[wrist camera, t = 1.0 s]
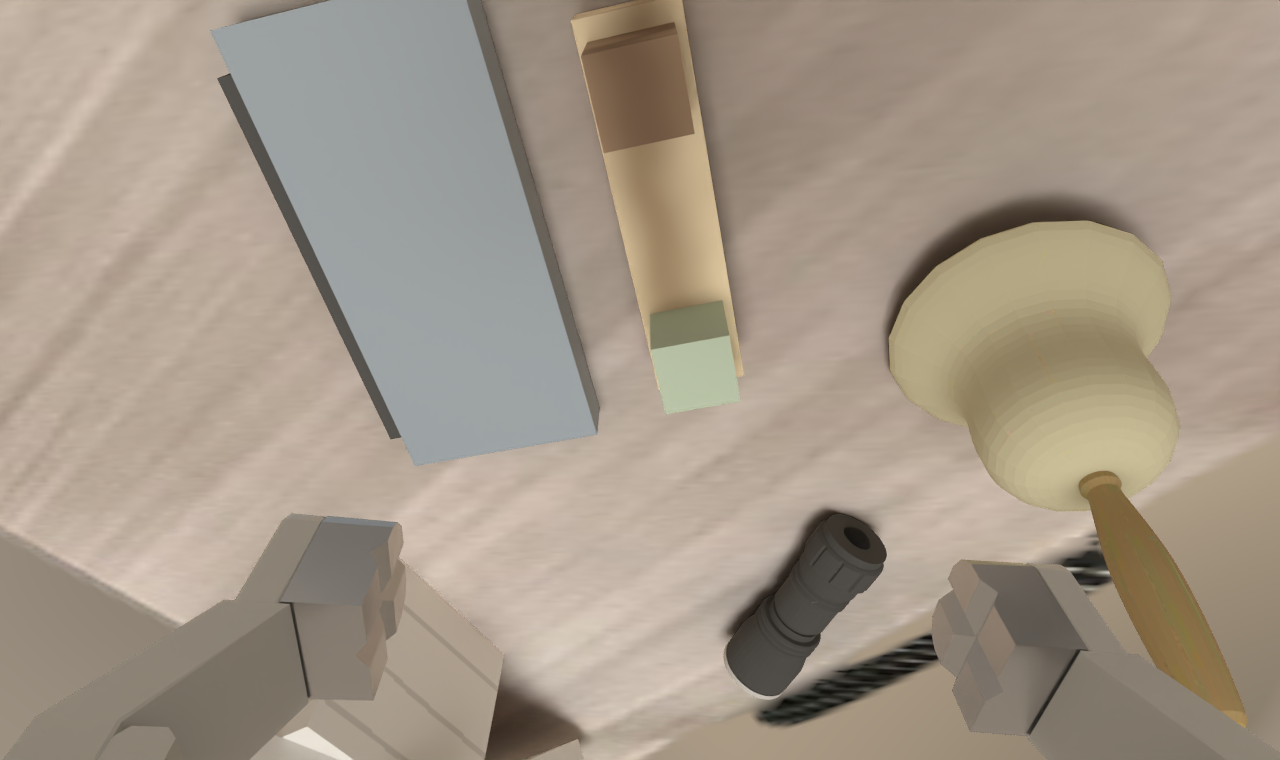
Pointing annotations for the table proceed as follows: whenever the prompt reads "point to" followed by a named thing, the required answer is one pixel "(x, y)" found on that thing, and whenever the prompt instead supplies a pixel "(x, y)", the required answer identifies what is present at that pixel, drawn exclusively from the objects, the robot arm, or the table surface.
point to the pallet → (664, 189)
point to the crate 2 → (693, 357)
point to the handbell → (1067, 403)
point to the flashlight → (804, 606)
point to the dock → (416, 217)
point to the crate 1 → (638, 87)
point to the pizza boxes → (412, 697)
